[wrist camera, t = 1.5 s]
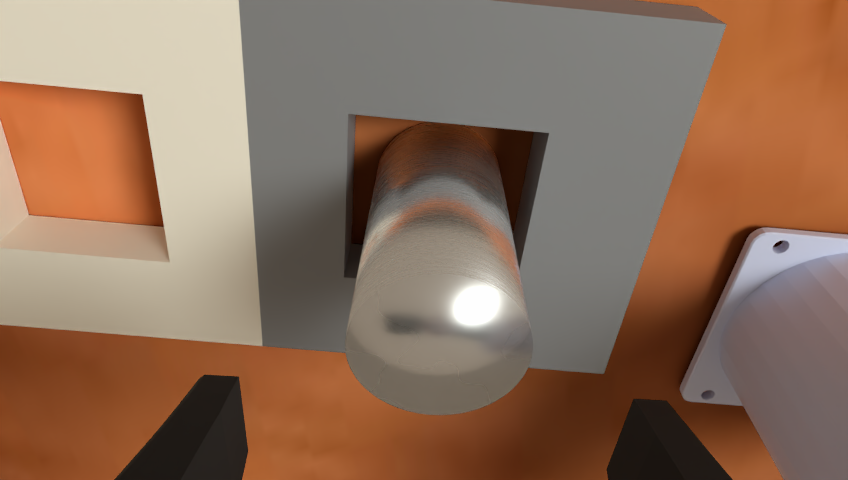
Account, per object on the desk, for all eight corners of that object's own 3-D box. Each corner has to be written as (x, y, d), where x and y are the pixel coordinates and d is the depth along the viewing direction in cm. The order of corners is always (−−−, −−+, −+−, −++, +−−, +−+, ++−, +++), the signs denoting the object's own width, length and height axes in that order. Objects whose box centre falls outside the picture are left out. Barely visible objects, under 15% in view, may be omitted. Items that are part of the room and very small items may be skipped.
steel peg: (509, 127, 19) (550, 284, 12) (490, 236, 21) (515, 421, 14) (380, 115, 18) (347, 266, 12) (374, 226, 21) (343, 407, 14)
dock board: (697, 6, 17) (726, 24, 15) (591, 336, 23) (603, 373, 21) (-204, -86, 16) (-281, -79, 14) (-52, 282, 22) (-92, 317, 21)
